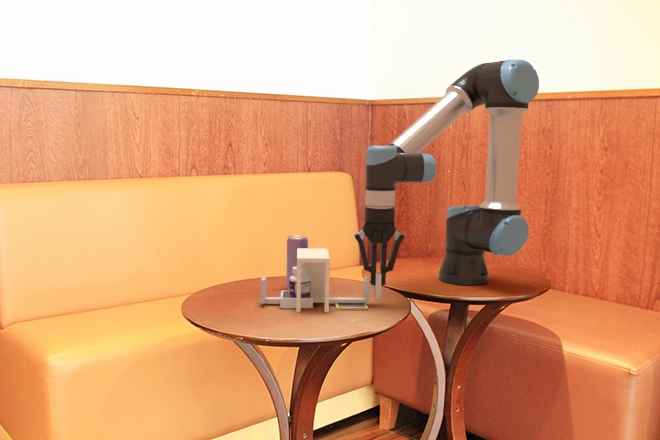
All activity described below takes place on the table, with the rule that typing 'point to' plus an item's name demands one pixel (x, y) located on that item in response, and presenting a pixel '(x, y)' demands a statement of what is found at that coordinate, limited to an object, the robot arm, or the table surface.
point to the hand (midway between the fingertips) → (377, 297)
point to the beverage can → (294, 253)
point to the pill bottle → (304, 283)
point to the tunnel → (314, 273)
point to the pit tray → (351, 306)
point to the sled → (311, 297)
